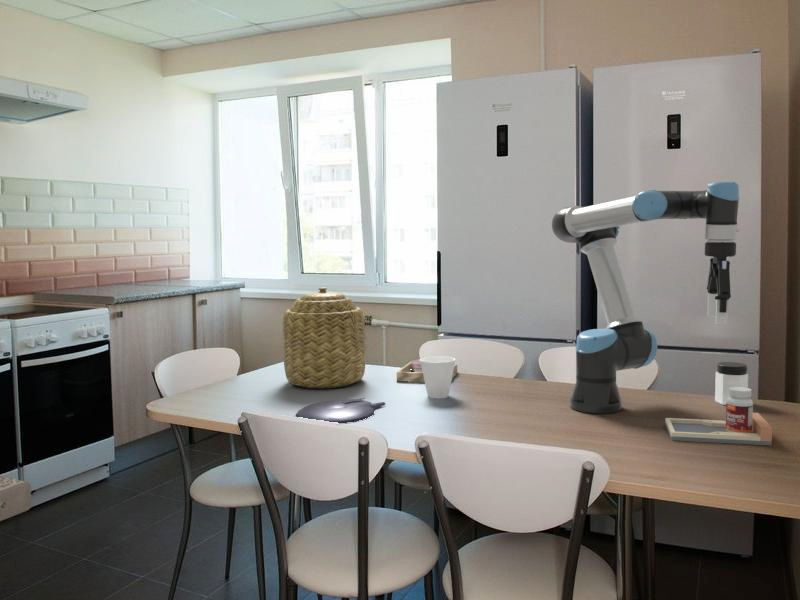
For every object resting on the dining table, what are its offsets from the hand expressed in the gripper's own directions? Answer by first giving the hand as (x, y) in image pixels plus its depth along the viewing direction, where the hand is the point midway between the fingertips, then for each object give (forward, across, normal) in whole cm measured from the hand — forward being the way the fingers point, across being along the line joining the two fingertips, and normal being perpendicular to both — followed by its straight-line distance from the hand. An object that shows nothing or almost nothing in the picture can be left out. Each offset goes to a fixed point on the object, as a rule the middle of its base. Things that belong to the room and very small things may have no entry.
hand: (716, 321), depth 184 cm
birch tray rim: (+31, +48, +91) cm, 107 cm away
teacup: (+32, +47, +93) cm, 109 cm away
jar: (+29, +27, -10) cm, 41 cm away
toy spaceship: (+31, -7, +105) cm, 110 cm away
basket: (+32, +32, +126) cm, 133 cm away
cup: (+31, +19, +80) cm, 88 cm away
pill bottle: (+28, -9, -5) cm, 30 cm away
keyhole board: (+28, -10, +1) cm, 30 cm away
